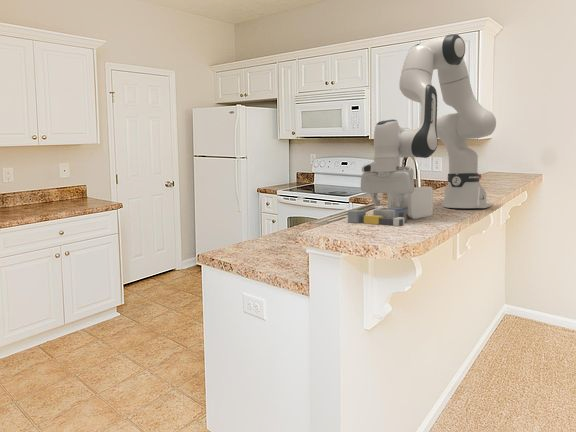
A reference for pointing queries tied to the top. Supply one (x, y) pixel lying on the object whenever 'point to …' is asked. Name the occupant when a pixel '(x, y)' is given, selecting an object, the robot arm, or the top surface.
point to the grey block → (355, 216)
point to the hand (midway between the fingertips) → (386, 206)
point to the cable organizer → (415, 202)
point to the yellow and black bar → (382, 220)
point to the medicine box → (390, 213)
